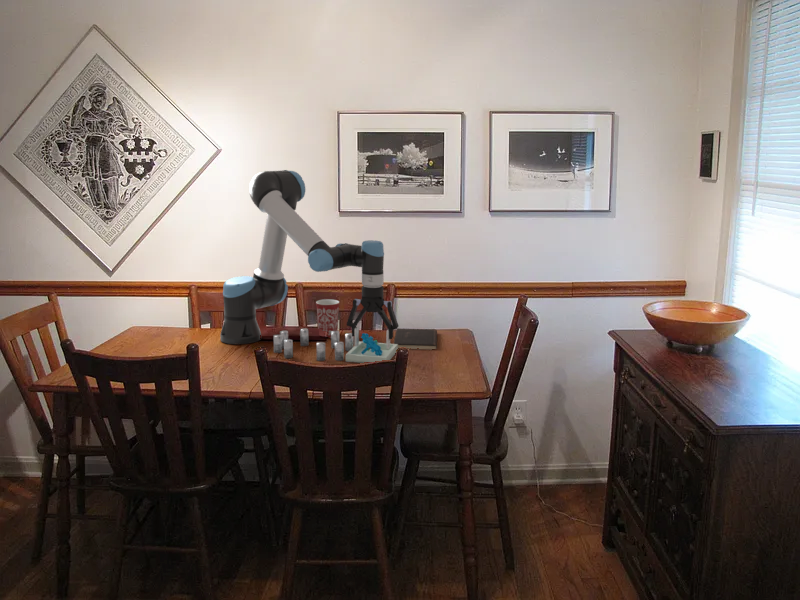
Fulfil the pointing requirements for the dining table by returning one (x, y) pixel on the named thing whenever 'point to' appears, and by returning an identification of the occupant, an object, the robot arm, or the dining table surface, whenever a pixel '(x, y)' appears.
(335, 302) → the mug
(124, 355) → the dining table surface
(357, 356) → the parts tray
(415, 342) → the hardcover book
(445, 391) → the dining table surface
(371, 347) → the blue plastic irregular piece
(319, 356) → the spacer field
